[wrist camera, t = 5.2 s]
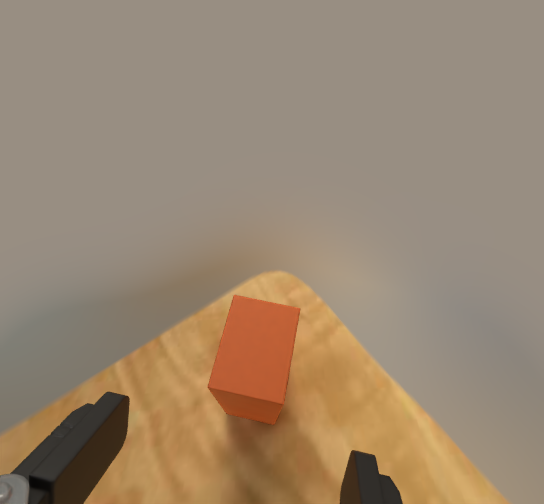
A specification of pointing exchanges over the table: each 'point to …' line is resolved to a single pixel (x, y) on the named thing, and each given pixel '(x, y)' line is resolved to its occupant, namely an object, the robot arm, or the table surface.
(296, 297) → the table surface
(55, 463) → the robot arm
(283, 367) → the orange block
